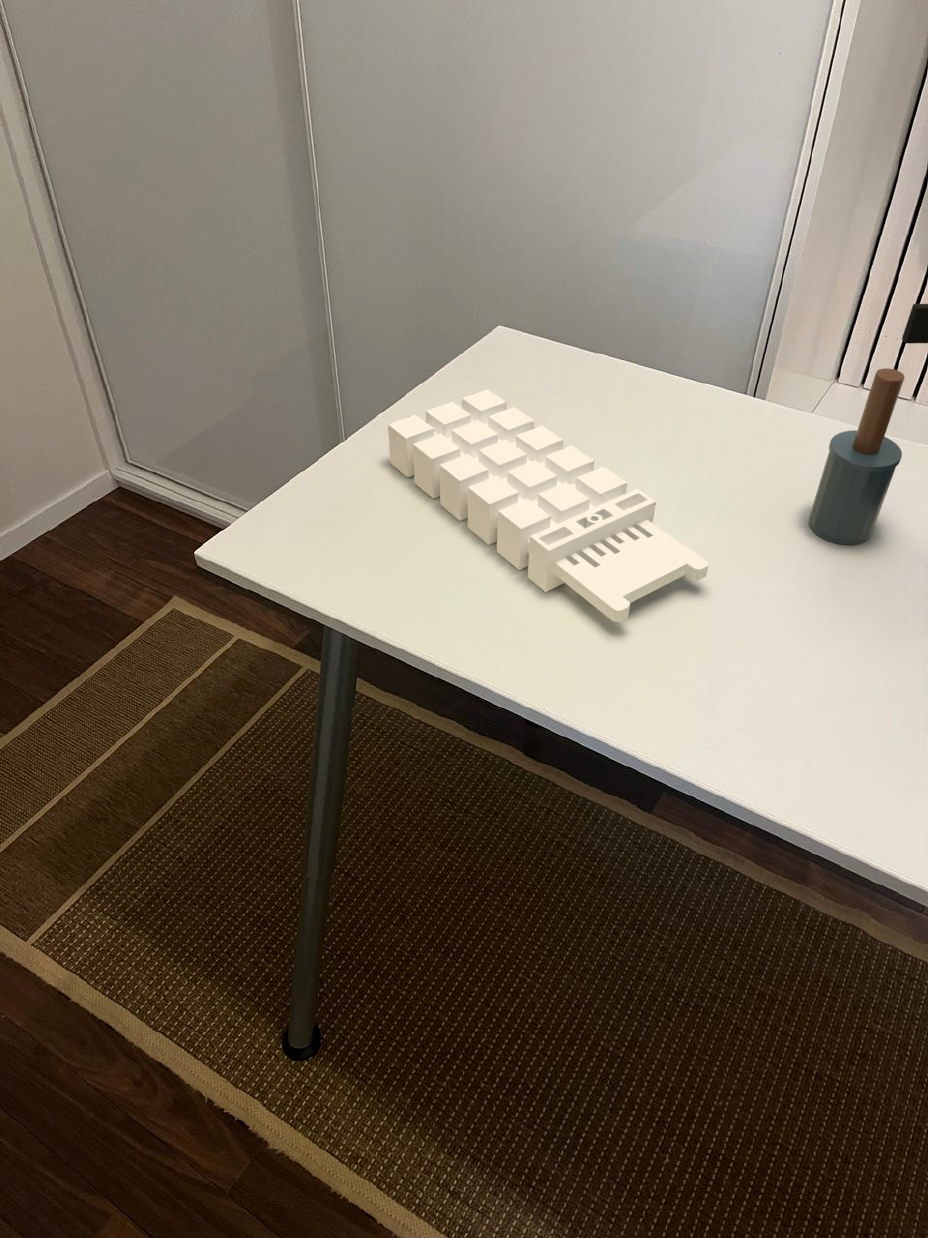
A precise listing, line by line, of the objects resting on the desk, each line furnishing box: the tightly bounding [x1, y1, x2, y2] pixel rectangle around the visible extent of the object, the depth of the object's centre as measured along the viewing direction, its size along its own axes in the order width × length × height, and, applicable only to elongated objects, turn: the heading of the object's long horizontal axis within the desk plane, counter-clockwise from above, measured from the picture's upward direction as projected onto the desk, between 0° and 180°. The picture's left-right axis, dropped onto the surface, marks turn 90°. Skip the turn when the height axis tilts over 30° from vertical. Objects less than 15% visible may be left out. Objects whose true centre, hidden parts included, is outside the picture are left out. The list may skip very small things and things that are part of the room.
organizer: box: [387, 389, 710, 623], centre depth 93 cm, size 13×5×35 cm
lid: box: [828, 367, 905, 472], centre depth 86 cm, size 6×6×9 cm
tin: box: [808, 450, 897, 546], centre depth 91 cm, size 6×6×8 cm
